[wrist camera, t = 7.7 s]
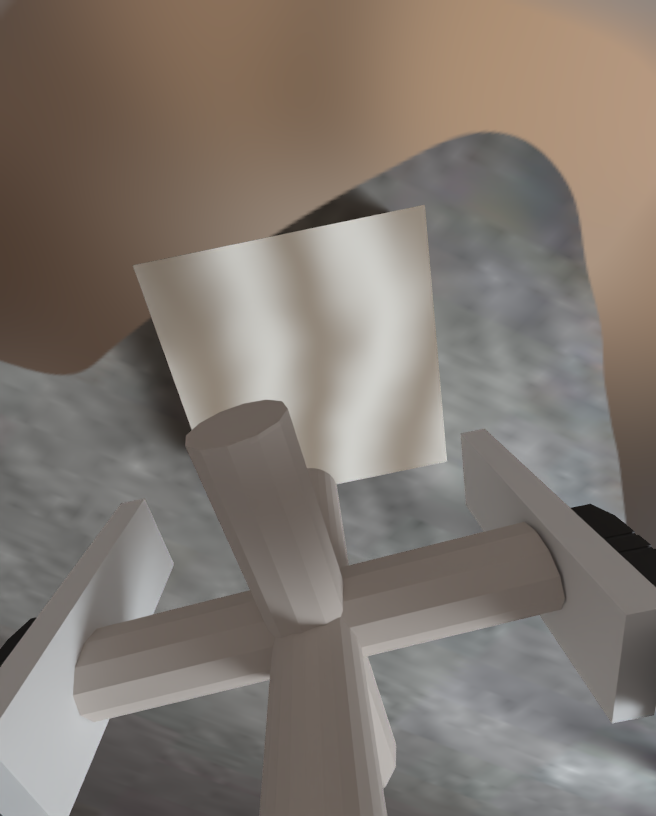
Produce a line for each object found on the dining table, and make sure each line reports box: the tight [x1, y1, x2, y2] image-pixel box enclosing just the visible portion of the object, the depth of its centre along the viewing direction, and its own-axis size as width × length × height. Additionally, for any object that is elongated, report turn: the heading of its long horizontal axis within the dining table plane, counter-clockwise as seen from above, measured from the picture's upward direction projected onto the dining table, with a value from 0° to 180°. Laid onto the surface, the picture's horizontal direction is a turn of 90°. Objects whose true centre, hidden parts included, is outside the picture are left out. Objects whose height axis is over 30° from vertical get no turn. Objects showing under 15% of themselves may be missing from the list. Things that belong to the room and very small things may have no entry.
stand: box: [133, 205, 447, 484], centre depth 26 cm, size 16×16×6 cm
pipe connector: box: [73, 400, 565, 816], centre depth 8 cm, size 10×10×10 cm
